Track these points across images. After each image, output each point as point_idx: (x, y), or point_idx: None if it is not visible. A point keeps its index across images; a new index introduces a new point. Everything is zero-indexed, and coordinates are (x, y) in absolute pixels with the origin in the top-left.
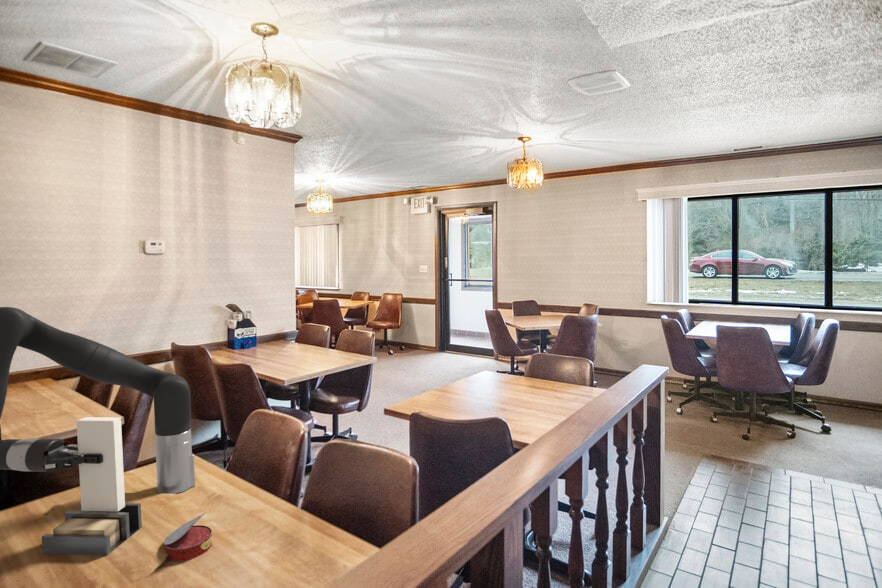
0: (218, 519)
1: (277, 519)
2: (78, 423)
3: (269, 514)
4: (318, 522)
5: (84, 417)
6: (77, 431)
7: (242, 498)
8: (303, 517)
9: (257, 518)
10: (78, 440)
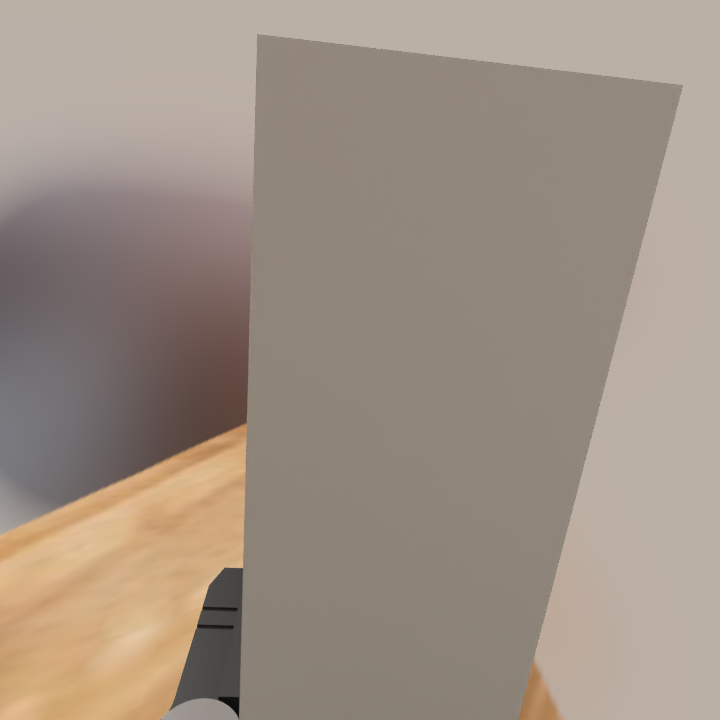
0: (180, 587)
1: (215, 475)
2: (612, 207)
3: (183, 491)
4: (243, 426)
5: (299, 46)
6: (577, 467)
7: (25, 571)
8: (216, 444)
9: (200, 506)
10: (513, 672)
